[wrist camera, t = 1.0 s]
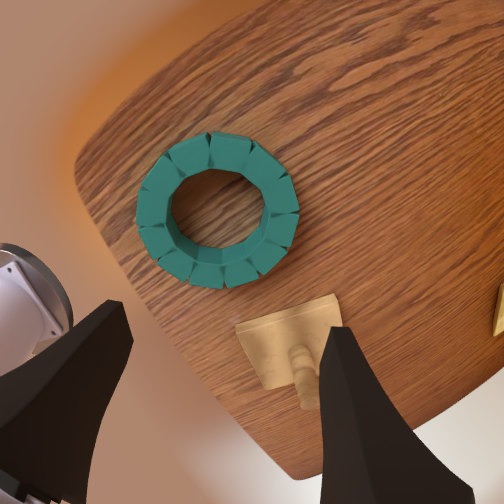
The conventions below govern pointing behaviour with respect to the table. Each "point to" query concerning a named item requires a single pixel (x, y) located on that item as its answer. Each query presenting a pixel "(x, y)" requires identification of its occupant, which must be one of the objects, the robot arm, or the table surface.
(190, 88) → the table surface
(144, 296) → the table surface
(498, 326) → the saucer
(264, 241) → the ring
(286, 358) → the holder
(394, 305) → the table surface
